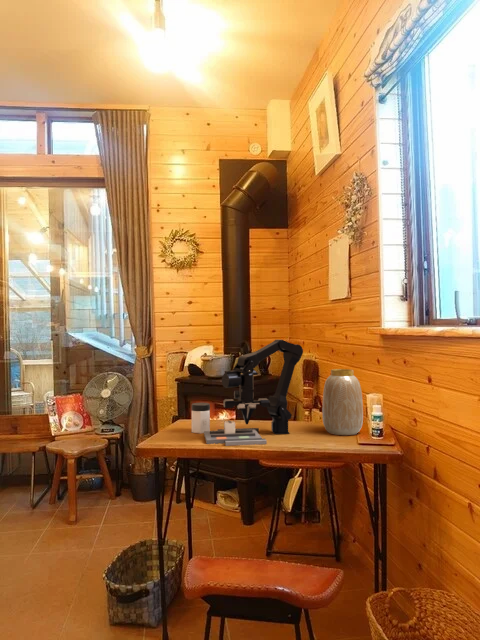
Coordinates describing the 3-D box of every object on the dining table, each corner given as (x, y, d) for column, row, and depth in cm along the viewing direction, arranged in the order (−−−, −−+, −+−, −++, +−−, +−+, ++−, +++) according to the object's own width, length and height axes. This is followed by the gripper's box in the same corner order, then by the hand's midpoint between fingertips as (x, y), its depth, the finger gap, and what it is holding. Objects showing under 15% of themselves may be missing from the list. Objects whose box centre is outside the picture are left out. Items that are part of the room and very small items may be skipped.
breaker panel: (255, 432, 194) (255, 427, 194) (262, 441, 179) (262, 435, 179) (204, 434, 191) (204, 428, 191) (206, 444, 175) (206, 437, 175)
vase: (366, 429, 200) (365, 369, 201) (359, 438, 184) (358, 372, 185) (327, 426, 207) (327, 367, 208) (318, 434, 192) (317, 370, 192)
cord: (258, 431, 198) (258, 428, 198) (258, 431, 196) (258, 428, 196) (217, 432, 195) (217, 429, 195) (217, 433, 194) (217, 430, 194)
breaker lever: (233, 433, 187) (233, 420, 187) (235, 435, 183) (235, 422, 183) (224, 433, 187) (224, 420, 187) (225, 435, 182) (225, 422, 182)
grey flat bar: (264, 442, 178) (264, 438, 178) (266, 444, 175) (266, 440, 175) (224, 443, 176) (224, 440, 176) (225, 445, 173) (225, 441, 173)
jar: (196, 434, 192) (196, 406, 192) (187, 430, 199) (187, 403, 199) (214, 431, 197) (214, 404, 197) (205, 428, 204) (205, 401, 204)
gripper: (264, 383, 196) (265, 419, 195) (222, 384, 193) (222, 421, 193) (270, 386, 185) (270, 424, 184) (224, 387, 182) (225, 426, 182)
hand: (246, 424), depth 186 cm, fingers closed
